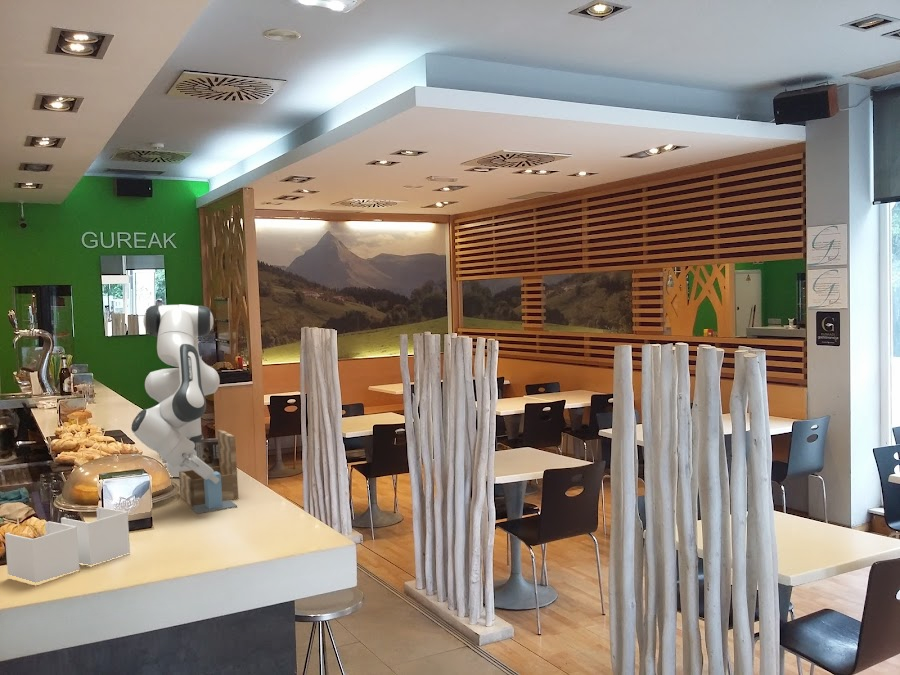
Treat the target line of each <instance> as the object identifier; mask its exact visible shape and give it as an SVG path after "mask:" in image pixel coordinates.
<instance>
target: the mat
mask: <svg viewBox="0 0 900 675" xmlns="http://www.w3.org/2000/svg"><path fill="white" fill-rule="evenodd" d="M222 504H223V507H217V508H211V509H209V508H208V507H207V506H206V505H205V504H201V505H195V506H191V505H190V509H192V510H193V512H195V513H196V514H197V515H198V514H199V513H200V514H205V513H204V512H206V513H210V512H209V511H212V512H216V510H218V511H222V510H221V509H224V510H228V509H227V508H230V509H233V508H232V507H235V508H238V507H237V506H238V505H237V504H236V503H235V502H234V501H233V500H225V501H222Z"/></svg>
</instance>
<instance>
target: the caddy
mask: <svg viewBox="0 0 900 675" xmlns="http://www.w3.org/2000/svg"><path fill="white" fill-rule="evenodd" d="M217 438H218V450H219V466H216V467H211V468H212V469H213V470H214V472H215V471H217V472H219V473H220V474H221V486H222V501H225V500H231V501H233V500H232V499H234V500H238V499H239V485H238V481H239V480H238V467H237V464H238V463H237V450H236V449H237V447H236V436H235V435H233V434H232V433H229V432H227V431H225V430H223V429H218V430H217ZM178 479H179V488H180V489H179V491H180V497H181V499H183V500H184V501H185V502H186V503H187V504H189V505H190V507H191V506H195V505H201V504H205V491H204V479H203V478H202V477H201V476H200V475H198V474H197V473H196V472H194V471H193V470H188V471H181V472H179V478H178ZM237 498H238V499H237Z"/></svg>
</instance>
